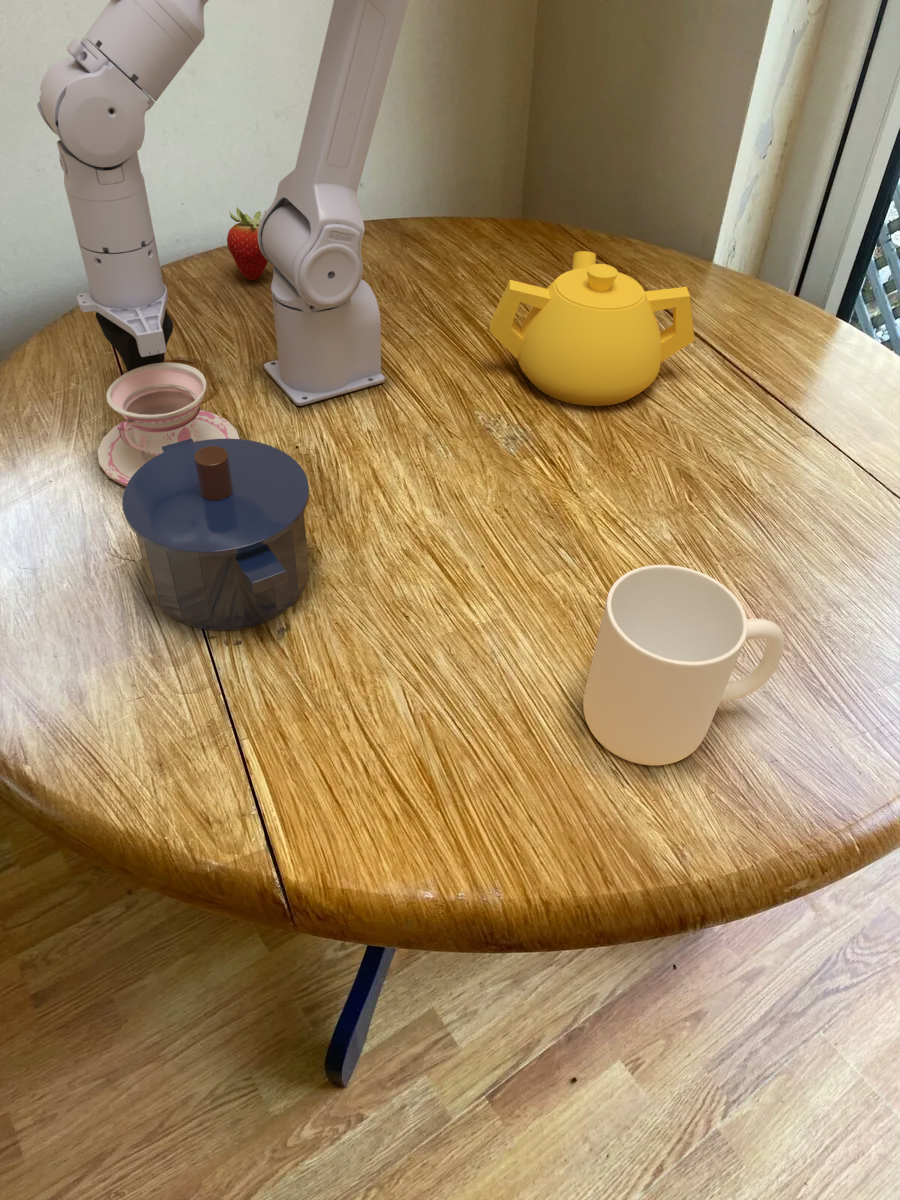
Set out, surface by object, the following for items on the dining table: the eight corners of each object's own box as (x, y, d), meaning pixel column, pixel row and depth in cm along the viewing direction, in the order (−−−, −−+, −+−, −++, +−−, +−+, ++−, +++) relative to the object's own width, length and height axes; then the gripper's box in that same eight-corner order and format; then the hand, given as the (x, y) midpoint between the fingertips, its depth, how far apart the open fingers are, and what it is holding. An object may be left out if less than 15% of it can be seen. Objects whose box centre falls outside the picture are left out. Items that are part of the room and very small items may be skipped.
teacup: (158, 399, 84) (146, 339, 80) (267, 436, 81) (260, 375, 77) (68, 467, 77) (48, 404, 72) (184, 511, 73) (171, 448, 69)
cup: (569, 673, 63) (592, 566, 56) (734, 664, 64) (778, 559, 57) (596, 774, 57) (626, 668, 50) (777, 761, 58) (831, 657, 51)
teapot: (660, 322, 100) (683, 222, 92) (697, 416, 87) (728, 308, 79) (479, 317, 99) (487, 215, 91) (490, 411, 86) (500, 301, 78)
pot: (257, 490, 76) (247, 414, 70) (352, 618, 66) (348, 540, 60) (119, 534, 71) (97, 456, 66) (199, 679, 61) (180, 600, 56)
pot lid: (265, 433, 70) (260, 386, 67) (340, 526, 62) (338, 478, 59) (101, 481, 65) (88, 433, 62) (162, 588, 57) (150, 539, 54)
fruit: (284, 272, 104) (278, 202, 98) (267, 293, 100) (260, 221, 95) (242, 266, 105) (234, 195, 99) (224, 286, 101) (214, 214, 95)
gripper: (47, 210, 74) (86, 359, 83) (82, 286, 65) (121, 444, 74) (134, 198, 76) (163, 344, 86) (180, 271, 67) (206, 425, 77)
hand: (149, 389), depth 80 cm, fingers closed
